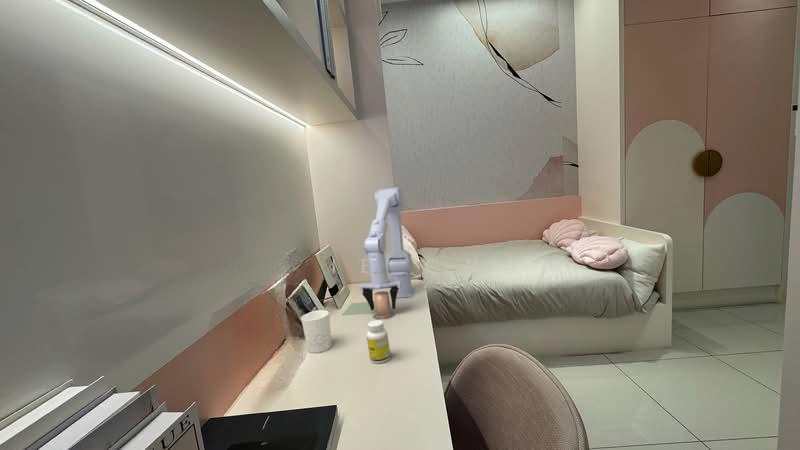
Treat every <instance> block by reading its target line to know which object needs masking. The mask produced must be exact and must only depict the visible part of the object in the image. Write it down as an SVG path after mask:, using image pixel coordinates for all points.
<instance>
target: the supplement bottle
mask: <svg viewBox="0 0 800 450" xmlns="http://www.w3.org/2000/svg"><path fill="white" fill-rule="evenodd" d="M367 329H368V332H367V333H366V341H367V345H368V346H367V347H368V348H367V349H368V353H369V360H370V361H371V362H372V363H373V364H383V363H386V362H388V361H390V359H391V349H390V343H389V334H388V331H387V329H386V328H385V325H384V320H376V319H374V320H372V321H371V320H370V321H369V322H368V323H367Z"/></svg>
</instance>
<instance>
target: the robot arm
mask: <svg viewBox="0 0 800 450" xmlns="http://www.w3.org/2000/svg"><path fill="white" fill-rule="evenodd" d="M403 194H404V193H403V191H402V189H401V188H400V187H399V186H396V187H391V188H389V187H388V188H383V189H382V188H381V189H376V190H375V192H374V200H375V204H376V206H377V207H376V213H375V214H376V215H375V219H373V220H372V221H371V225H370V229H369V232H368V236H367V237H366V238H365V239H364V242H363V251H364V253H365V257H366V259H367V260H368V267H369V273H370V280H371V282H366V283H360V285H358V286H359V292H362V296H363V297H364V298H365V300H366V302H368V304H369V306H370V308H371V311H372V310H374V302H375V301H374V295H373V293H374V292H373V290H382V289H389V294H390V299H391V310H395V309H396V301H397V299H401V298H402V299H403V298H412V297H413V295H414V292H415V288H413V287H412V278H411V272H412V271H413V270H414V261H413V259H412V254H411V253H410V252H409V251H407V250H406V249H405V248H404V239H403V228H402V217H401V209H402V208H404V195H403ZM387 217H388V221H389V223H387V221H386V220H387ZM388 225H389V234H390V235H389V236H390V245H391V246H390V247H391V251H390V252H389V253H388V254H387V256H385V252H386V250H387V238H386V234H387V231H388V230H387V229H388ZM388 273H389V274H390V276H391V278H392V280H389V279H388Z"/></svg>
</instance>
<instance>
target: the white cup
mask: <svg viewBox="0 0 800 450" xmlns="http://www.w3.org/2000/svg"><path fill="white" fill-rule="evenodd" d="M300 319H301V325H302V328H303V334H304V338H305V341H306V346H307V349H308V350H307V351H308V352H309V353H312V354H319V353H323V352H326V351H328V350H330V348H332V345H333V343H332V331H331V321H330V320H331V319H330V311H328V310H321V309H320V310H313V311H310V312H308V313H305V314H303V315H302V316H301V317H300Z"/></svg>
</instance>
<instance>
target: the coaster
mask: <svg viewBox="0 0 800 450" xmlns="http://www.w3.org/2000/svg"><path fill="white" fill-rule="evenodd" d="M391 314H392V315H391V316H390V317H387V318H378V317H377V313H375V314H373V315H372V318H373V319H374V320H381V321H386V320H390V319H392V318H393V317H395V316H396V312H395V311H391Z"/></svg>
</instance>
